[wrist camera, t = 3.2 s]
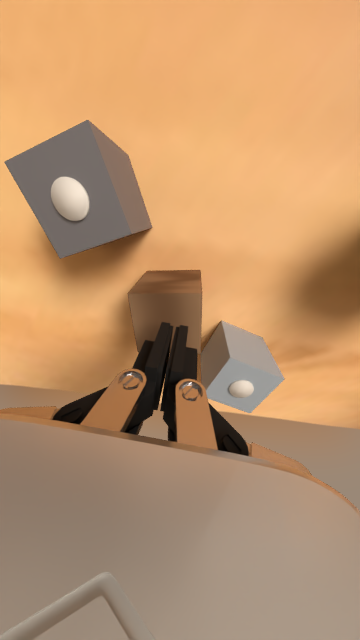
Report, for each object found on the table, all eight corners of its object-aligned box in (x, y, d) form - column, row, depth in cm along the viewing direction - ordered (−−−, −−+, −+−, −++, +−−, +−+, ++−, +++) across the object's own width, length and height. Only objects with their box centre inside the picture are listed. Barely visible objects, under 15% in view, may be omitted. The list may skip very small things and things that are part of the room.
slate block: (262, 337, 21) (285, 380, 15) (237, 368, 23) (250, 415, 18) (221, 320, 20) (230, 359, 15) (200, 353, 22) (201, 397, 17)
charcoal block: (128, 155, 14) (85, 117, 9) (152, 227, 16) (130, 234, 11) (71, 180, 15) (0, 160, 10) (101, 245, 17) (58, 259, 12)
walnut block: (200, 270, 18) (202, 293, 12) (199, 317, 20) (200, 353, 15) (147, 270, 18) (127, 293, 13) (152, 317, 20) (137, 352, 15)
